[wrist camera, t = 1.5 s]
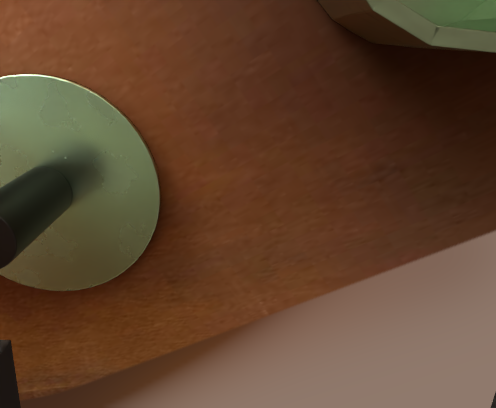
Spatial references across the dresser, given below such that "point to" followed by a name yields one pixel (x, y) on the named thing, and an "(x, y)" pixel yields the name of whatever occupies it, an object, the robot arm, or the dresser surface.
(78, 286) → the lid
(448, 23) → the pot
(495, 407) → the robot arm
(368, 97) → the dresser surface
